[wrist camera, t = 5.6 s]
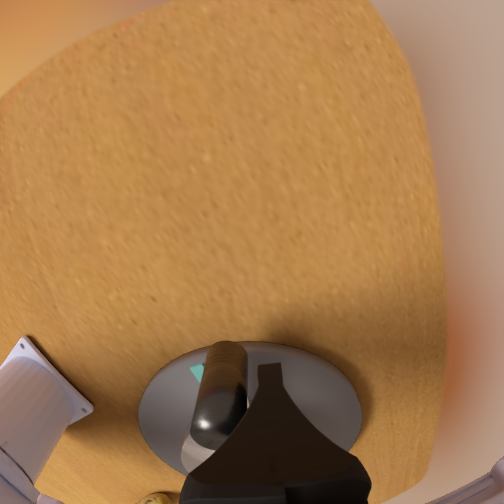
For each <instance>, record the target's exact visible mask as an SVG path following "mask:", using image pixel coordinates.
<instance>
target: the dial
mask: <svg viewBox="0 0 504 504" xmlns="http://www.w3.org/2000/svg"><path fill="white" fill-rule="evenodd" d="M250 403H251V400H250V394H249V388H248V354H247V352H246V350H245V349H244V348H243V347H242V346H241V345H240V344H238V343H236V342H232V341H220V342H217V343H215V344H213V345H212V346H211V347H210V348H209V350H208V352H207V356H206V360H205V365H204V369H203V374H202V378H201V383H200V387H199V392H198V396H197V401H196V405H195V410H194V414H193V419H192V421H191V422H190V423H189V425H188V427H187V429H186V433H185V437H184V442H183V446H182V451H181V461H182V464H183V466H184V468H185V469H186V470H187V472H188V473H190V472H191V471H192V470H194V469H195V468H196V467H197V466H199V465H200V464H201V463H203V462H204V461H205V460H206V459H207V458H209V457H210V456H211V455H212V454H213V453H214V452H215V451H216V450H217V449H218V448H219V447H220V446H221V445H222V444H223V443H224V441H225V440H226V439H227V438H228V437H229V436H230V434H231V433H232V432H233V430H234V429H235V428H236V426H237V425H238V424H239V422H240V421H241V419H242V418H243V416H244V414H245V413H246V411H247V409H248V407H249V405H250Z"/></svg>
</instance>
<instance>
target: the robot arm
mask: <svg viewBox="0 0 504 504" xmlns="http://www.w3.org/2000/svg"><path fill="white" fill-rule="evenodd" d="M257 377H258V383H259V386H258V388H257V391H256V393H255V395H254V397H253V400H252V401H251V403H250V405H249V407H248V409H247V411H246V413H245V414H244V416H243V418H242V419H241V421H240V422H239V424H238V425H237V426H236V428H235V429H234V430H233V432H232V433H231V434H230V436H229V437H228V438H227V439H226V440H225V441H224V443H223V444H222V445H221V446H220V447H219V448H218V449H217V450H216V451H215V452H214V453H213V454H212V455H211V456H210V457H209V458H207V459H206V460H205V461H204V462H203V463H201V464H200V465H199V466H197V467H196V468H195V469H194V470H192V471H191V472H190V473H188V475H187V477H186V480H185V482H184V485H183V487H182V490H181V494H180V500H179V504H368V501H367V498H368V495H369V493H370V490H371V484H372V483H371V480H370V477H369V475H368V473H367V471H366V470H365V468H364V467H363V465H362V464H361V462H360V461H359V459H358V458H357V457H356V456H354V455H352V454H350V453H349V452H347V451H345V450H344V449H342V448H341V447H339V446H338V445H337V444H335V443H334V442H332V441H331V440H330V439H329V438H327V437H326V436H325V435H324V434H323V433H321V432H320V431H319V430H318V429H317V428H316V427H315V426H314V425H313V424H312V423H311V422H310V421H309V420H308V419H307V418H306V417H305V416H304V415H303V413H302V412H301V411H300V410H299V408H298V407H297V406H296V404H295V403H294V402H293V400H292V399H291V397H290V396H289V394H288V393H287V391H286V389H285V388H284V385H283V376H282V368H281V362H278V363H270V364H262V365H258V371H257ZM93 410H94V407H93V405H92V404H91V403H90V402H89V401H88V400H86V399H85V398H84V397H83V396H82V395H81V394H80V393H79V392H78V391H77V390H76V389H75V388H74V387H73V386H72V385H71V384H70V383H69V382H68V381H67V380H66V379H65V378H64V377H63V376H62V375H61V374H60V373H59V372H58V371H57V370H56V369H55V368H54V367H53V366H52V365H51V363H50V362H49V361H48V360H47V359H46V358H45V357H44V356H43V355H42V353H41V352H40V351H39V350H38V349H37V348H36V346H35V345H34V344H33V343H32V342H31V341H30V339H29V338H28V337H26V336H23V337H22V338H21V339H20V340H19V341H18V343H17V344H16V345H15V347H14V348H13V350H12V351H11V353H10V354H9V355H8V357H7V358H6V360H5V361H4V363H3V364H2V366H1V367H0V504H64V503H63V502H61V501H59V500H56V499H54V498H51V497H49V496H46V495H44V494H41V495H40V497H39V499H38V501H37V498H38V496H39V494H40V492H39V491H38V490H37V489H36V488H35V487H34V484H35V482H36V480H37V479H38V477H39V475H40V473H41V471H42V469H43V468H44V466H45V464H46V462H47V461H48V459H49V457H50V455H51V453H52V452H53V450H54V448H55V447H56V445H57V443H58V441H59V440H60V438H61V436H62V435H63V433H64V431H65V430H66V428H67V426H69V425H71V424H73V423H74V422H76V421H78V420H80V419H81V418H83V417H85V416H87V415H89V414H90V413H92V412H93ZM426 504H504V457H502V458H501V459H500V460H499V461H497V462H496V464H495V465H494V466H493V467H492V469H491V471H490V472H489V473H487V474H485V475H483V476H482V477H480V478H478V479H476V480H474V481H473V482H471V483H469V484H467V485H465V486H463V487H461V488H459V489H457V490H455V491H453V492H451V493H449V494H447V495H444V496H442V497H440V498H438V499H435V500H433V501H431V502H428V503H426Z"/></svg>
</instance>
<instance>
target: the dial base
mask: <svg viewBox="0 0 504 504" xmlns="http://www.w3.org/2000/svg"><path fill="white" fill-rule="evenodd" d="M236 343H238V344H240V345H241V346H242V347H243V348H244V349H245V350H246V352H247V354H248V388H249V394H250V400H251V401H252V400H253V397H254V395H255V393H256V391H257V388H258V386H259V383H258V377H257V371H258V365H262V364H270V363H278V362H281V368H282V376H283V385H284V388H285V389H286V391H287V393H288V394H289V396H290V397H291V399H292V400H293V402H294V403H295V404H296V406H297V407H298V408H299V410H300V411H301V412H302V413H303V415H304V416H305V417H306V418H307V419H308V420H309V421H310V422H311V423H312V424H313V425H314V426H315V427H316V428H317V429H318V430H319V431H320V432H321V433H323V434H324V435H325V436H326V437H327V438H329V439H330V440H331V441H332V442H334V443H335V444H337V445H338V446H339V447H341V448H342V449H344V450H345V451H347V452H348V451H349V450H350V449H351V447H352V446H353V444H354V443H355V441H356V440H357V437H358V435H359V433H360V430H361V426H362V409H361V405H360V402H359V400H358V397H357V395H356V393H355V390H354V388H353V385H352V384H351V382H350V381H349V380H348V378H347V377H346V376H345V375H344V374H343V373H342V372H341V371H340V370H339V369H338V368H337V367H336V366H334V365H333V364H331V363H330V362H329V361H327V360H325V359H323V358H321V357H319V356H318V355H316V354H313V353H310V352H308V351H305V350H302V349H299V348H295V347H291V346H287V345H283V344H275V343H268V342H250V341H247V342H236ZM211 346H212V345H211ZM211 346H207V347H203V348H199V349H196V350H194V351H191V352H188V353H186V354H183V355H181V356H179V357H178V358H176V359H174V360H172V361H170V362H169V363H168V364H166V365H165V366H164V367H162V368H161V369H160V370H159V371H158V372H157V373H156V374H155V375H154V376H153V378H152V379H151V381H150V382H149V384H148V386H147V388H146V390H145V392H144V395H143V397H142V400H141V402H140V405H139V411H138V421H139V426H140V430H141V433H142V435H143V437H144V439H145V441H146V443H147V444H148V445H149V447H150V448H151V450H152V451H153V452H154V453H155V454H156V455H157V456H158V457H159V458H160V459H161V460H163V461H164V462H165V463H166V464H168V465H169V466H171V467H172V468H173V469H175V470H177V471H179V472H180V473H182V474H184V475H186V476H187V475H188V472H187V470H186V469H185V468H184V466H183V464H182V461H181V451H182V446H183V442H184V437H185V433H186V429H187V427H188V425H189V423H190V422H191V421H192V419H193V414H194V410H195V405H196V401H197V396H198V392H199V387H200V383H201V378H202V374H203V369H204V365H205V360H206V356H207V352H208V350H209V348H210V347H211Z"/></svg>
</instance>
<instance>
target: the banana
mask: <svg viewBox="0 0 504 504" xmlns="http://www.w3.org/2000/svg"><path fill="white" fill-rule="evenodd" d="M136 504H171V500H170V499H169V497H168V496H167V495H166V494H163V493H154V494H150V495H148V496H146V497H144V498H143V499H141V500H140V501H139V502H138V503H136Z"/></svg>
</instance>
